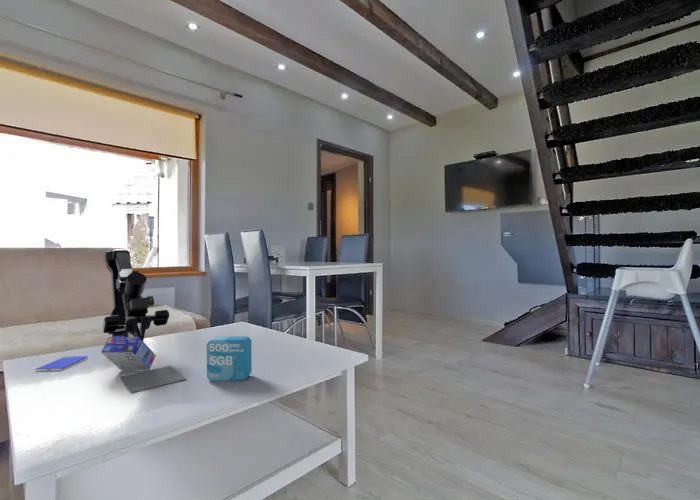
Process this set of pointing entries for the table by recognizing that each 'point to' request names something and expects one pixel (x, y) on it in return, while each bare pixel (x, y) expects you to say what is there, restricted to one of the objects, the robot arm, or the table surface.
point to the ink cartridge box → (128, 353)
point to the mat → (151, 379)
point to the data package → (229, 358)
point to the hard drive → (62, 363)
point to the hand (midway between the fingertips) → (141, 341)
